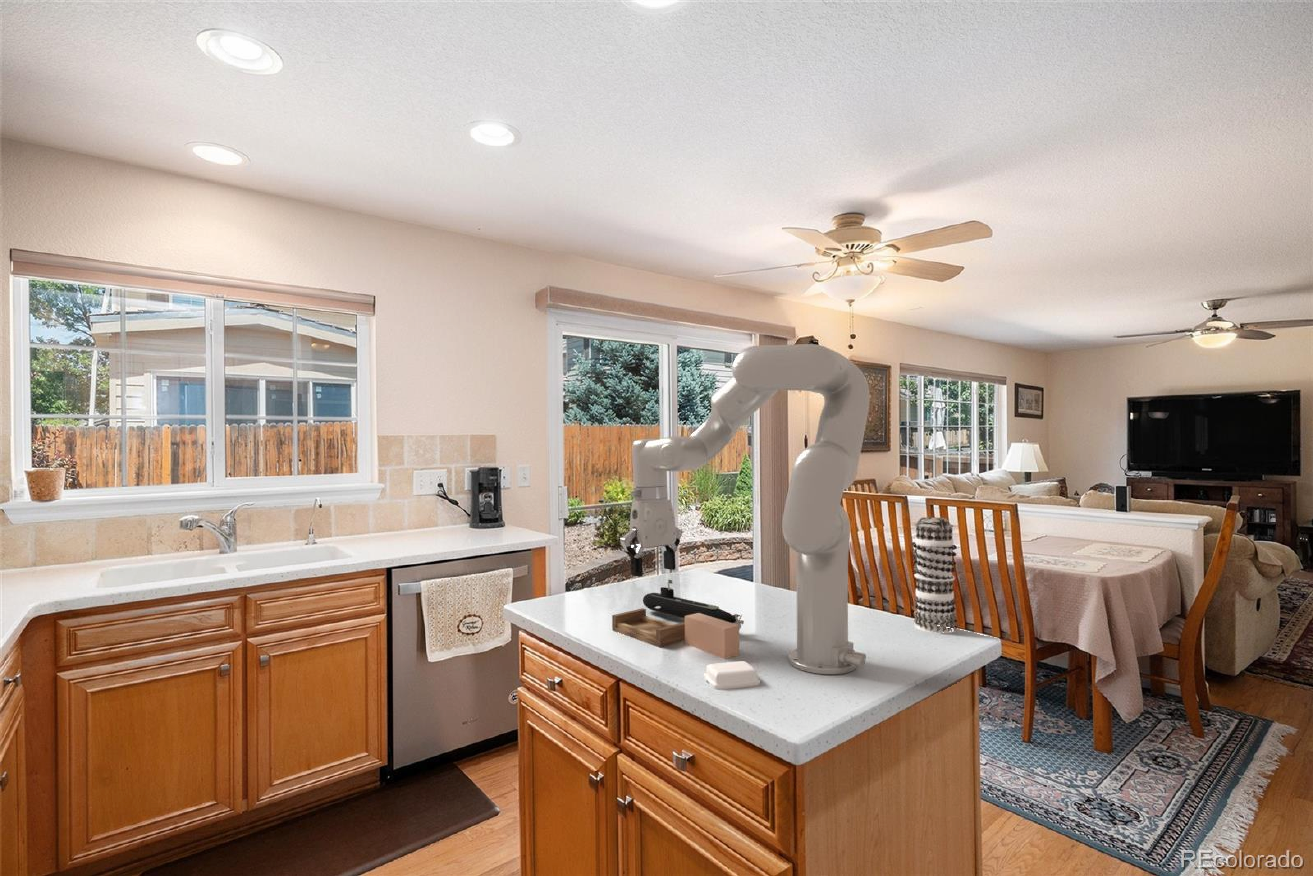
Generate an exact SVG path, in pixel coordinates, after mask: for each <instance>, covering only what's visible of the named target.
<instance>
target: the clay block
mask: <svg viewBox="0 0 1313 876" xmlns="http://www.w3.org/2000/svg"><path fill="white" fill-rule="evenodd" d="M684 622H685V640H684V644H685V645H687V646H690V647H693V648H694V649H697V650H700V651H702V652H706V653H708V654H711V655H713V656H716V657H719V658H720V659H723V660H726V659H729V658H730V659H731V658H733V657H737V656H739V655H740V629H739V625H736V624H733V623H730V622H727V621H724V620H720V619H717V618H714V617H711V616H707V615H704V614H701V613H696V614H692V615H687V616H685V618H684Z"/></svg>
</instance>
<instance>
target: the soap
mask: <svg viewBox="0 0 1313 876" xmlns="http://www.w3.org/2000/svg"><path fill="white" fill-rule="evenodd" d="M705 669H706V670H705V672H704V673H703V678H704V680H705V681H706V682H708V685H709V686H710V687H711V688H712V689H715V690H726V689H727V690H728V689H737V688H745V687H746V688H747V687H753V686H759V685H760V684H761V680H760V679H759V677H758V675H759V674H758V672H757V670H756V669H755V668H754V667H753V666H752V665H751V664H749V663H748V662H747V661H742V660H741V661H740V660H739V661H727V662H717V663H711V664H708V665H706V668H705Z"/></svg>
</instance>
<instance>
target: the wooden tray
mask: <svg viewBox="0 0 1313 876" xmlns="http://www.w3.org/2000/svg"><path fill="white" fill-rule="evenodd" d="M611 618H612V621H611V622H612V623H611V625H612V628H611V629H612V630H613V632H615V633H618V632H619V633H618V634H620V633H621V634H622V635H623V634H624V636H627V637H629V636H630V637H629V638H632V639H634V638H635V640H637V641H640V642H643V641H644V643H646V644H649V645H652V646H655V647H657V646H658V648H663V647H666V646H670V645H673V644H676V643H680V642H683V641H685V621H682V622H678V623H674V624H673V623H669V622H666V621H663V620H660V619H657V618H654V617H649V616H647V609H646V608H643V607H642V608H638V609H634V610H629V611H626V612H620V613H616V614H613V615H612V616H611Z"/></svg>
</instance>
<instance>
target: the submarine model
mask: <svg viewBox="0 0 1313 876" xmlns="http://www.w3.org/2000/svg"><path fill="white" fill-rule="evenodd" d="M666 584H667V587H665V586H664V587H660V592H649V593H646V594H645V595H644V596H643V597H642V602H643V605H644V606H645V608H647V609H649V610H650V611H654V612H659V613H661V614H664V615H665V614H666V615H669V616H674V617H678V618H681V619H685V616H687V615H692V614H696V613H701V614H704V615H707V616H711V617H714V618H717V619H720V620H724V621H727V622H730V623H733V624H736V625H739V630H741V628H742V625H744V623H745V620H741V619H742V614H737V613H736V614H731V613H729V612H728V611H726V610H723V609H720V606H719V605H718V606H717V605H714V604H709V603H704V602H700V601H695V600H692V599H686V598H682V597H677V596H674V595H675V594H674V592H675V591H674V589H673V588H672V587H670V584H671V585H672V584H673V580H672V579H668V580H667V582H666Z"/></svg>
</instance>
